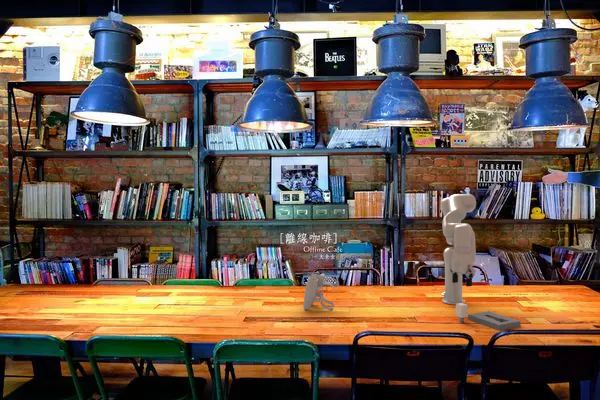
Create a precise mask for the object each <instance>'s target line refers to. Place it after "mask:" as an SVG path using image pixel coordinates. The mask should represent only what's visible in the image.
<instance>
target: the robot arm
mask: <svg viewBox="0 0 600 400" xmlns="http://www.w3.org/2000/svg"><path fill="white" fill-rule="evenodd" d="M476 200H477V199H476V197H475V196H474V195H473V194H470V193H464V194H463V193H461V194H460V193H457V194H456V193H455V194H452V195H450V196H449V197H445V198H442V199H441V202H440V207H441V208H440V209H441V212H442V214H443V219H442V222H441V223H442V224H441V225H442V233H443V236H444V237H445V239H446V240H445V241H446V243H447V244H448V245H452V246H453V247H452V246H450V247H446V248H445V249H444V250H443V261H444V291H443V292H442V293H441V296H443V298H442V299H441V302H442V303H444V304H446V305H455V306H456V304H458V303H464V304H466V300H465V299H463V275H465V277H466V279H465V286H466V287H472V286H473V278H474V276H475V275H476V272H477V271H476V268H474V267H473V264H475V263H476V258H477V257H476V255H477V253H476V248H477V247H476V234H475V232H474V231H475V230H473V226H471V225H470V224H469V223H465V222H464V223H462V220H465V218H466V216H467V213H472V212H473V211H474V210H475V209H476V207H477V201H476Z"/></svg>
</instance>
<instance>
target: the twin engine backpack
mask: <svg viewBox="0 0 600 400" xmlns="http://www.w3.org/2000/svg"><path fill="white" fill-rule="evenodd" d="M328 280H334V281H335V283H336V285H337V286H338V290H339V291H340V290H341V288H340V284H339V282H338V280H337V279H335V278H334V277H326V274H325V273H321V274H318V273H316V272H315V271H313V272H311V273H310V276H309V277H308V280H307V281H306V283H305V285H306V286H305V290H304V292H303V294H304V297H303V309H304V310H307V311H309V310H310V309H311V308H312V306H313V305H314V303H319V302H320V305H321V306H322V307H323V308H324V309H325V310H329V311H332V310H334V308H335V303H334V302H333V301H331V300H328V299H326V298H324V297H325V296H324V285H329V286H331V287H332V289H333V290H335V289H336V287H335V286H334V284H333V283H332V282H329V281H328ZM325 303H326V304H329V305H331V306H332V307H330V306H328V305H326V304H325ZM333 307H334V308H333Z"/></svg>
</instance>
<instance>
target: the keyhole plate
mask: <svg viewBox="0 0 600 400" xmlns="http://www.w3.org/2000/svg"><path fill="white" fill-rule="evenodd" d="M467 320H469V321H472V322H475V323H478V324H481V325H484V326H485V327H488V328H492V329H494V330H497V331H501V330H502V331H503V330H507V329H513V328H518V327H521V322H522V321H521V320H518V319H514V318H512V317H509V316H505V315H502V314H500V313H497V312H493V311H491V310H488V311H487V310H486V311H482V312H475V313H468V317H467Z"/></svg>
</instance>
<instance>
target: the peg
mask: <svg viewBox="0 0 600 400" xmlns="http://www.w3.org/2000/svg"><path fill="white" fill-rule="evenodd" d="M468 309H469V305H468V304H466V303H458V304H456V305H455V316H456V317H458V319H459V321H458V322H459V323H465V318H468V314H469V311H468Z"/></svg>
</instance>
